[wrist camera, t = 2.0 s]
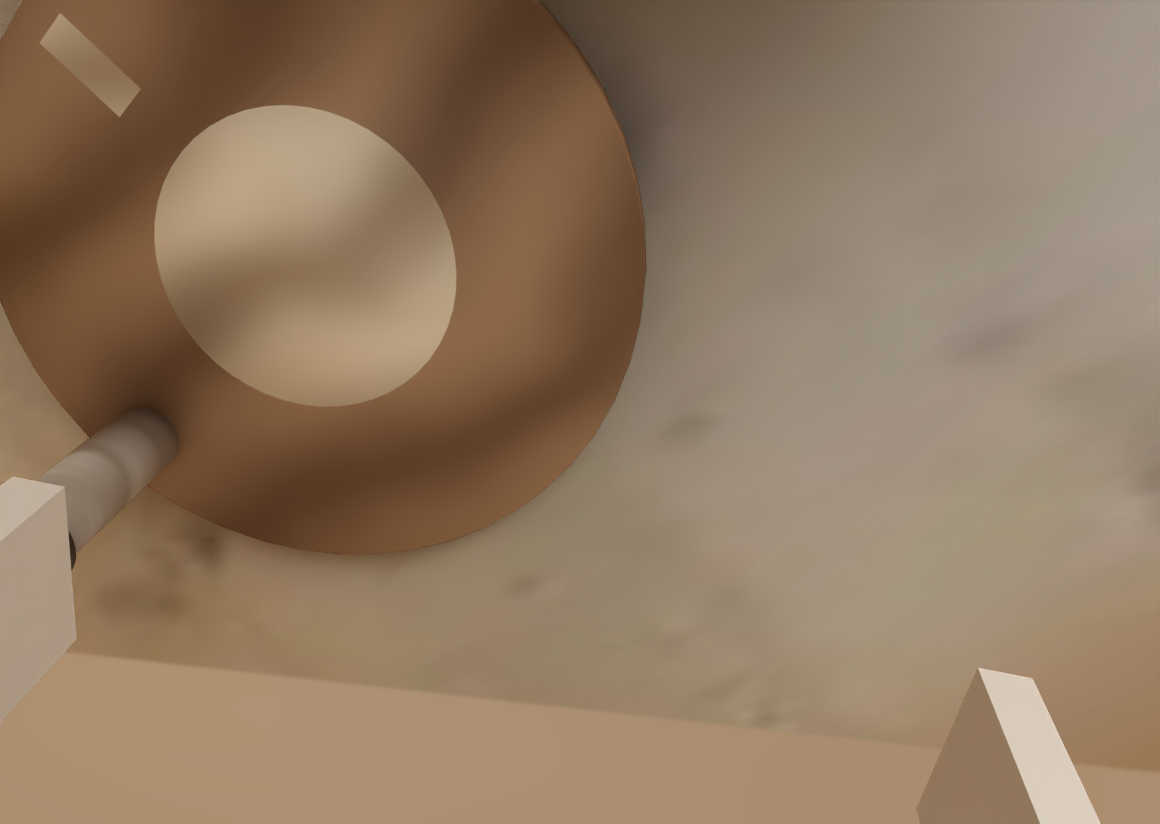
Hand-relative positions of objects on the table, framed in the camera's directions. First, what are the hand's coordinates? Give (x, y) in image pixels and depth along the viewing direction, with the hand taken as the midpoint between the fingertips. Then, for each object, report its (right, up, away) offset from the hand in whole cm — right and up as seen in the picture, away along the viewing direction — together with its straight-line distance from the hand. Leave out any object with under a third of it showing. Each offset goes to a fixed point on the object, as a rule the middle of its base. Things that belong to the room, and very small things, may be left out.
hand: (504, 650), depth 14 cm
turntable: (-8, +9, +19) cm, 22 cm away
